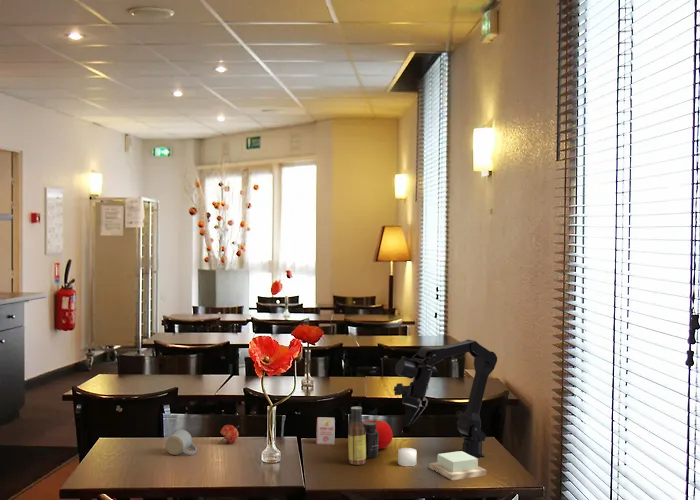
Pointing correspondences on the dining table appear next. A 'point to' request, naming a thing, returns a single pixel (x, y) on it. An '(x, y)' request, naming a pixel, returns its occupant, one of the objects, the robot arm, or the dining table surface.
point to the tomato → (383, 433)
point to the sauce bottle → (356, 438)
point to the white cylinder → (407, 456)
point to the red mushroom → (229, 433)
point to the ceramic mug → (180, 443)
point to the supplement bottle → (371, 440)
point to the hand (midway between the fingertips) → (408, 424)
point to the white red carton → (325, 431)
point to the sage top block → (457, 461)
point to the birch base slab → (459, 474)
